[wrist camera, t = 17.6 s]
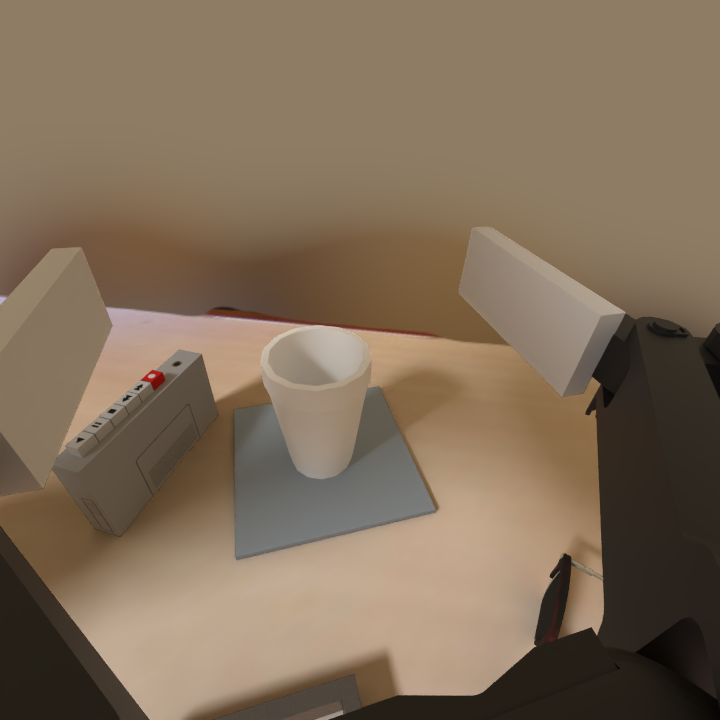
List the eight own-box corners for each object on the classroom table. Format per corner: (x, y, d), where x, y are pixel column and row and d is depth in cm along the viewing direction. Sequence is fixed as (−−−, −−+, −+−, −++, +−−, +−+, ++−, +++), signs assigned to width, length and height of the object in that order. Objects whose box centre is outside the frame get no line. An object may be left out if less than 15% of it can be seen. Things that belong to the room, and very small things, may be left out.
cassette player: (198, 410, 47) (176, 341, 41) (218, 415, 46) (199, 346, 40) (95, 529, 34) (42, 455, 28) (120, 537, 34) (72, 464, 28)
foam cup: (281, 423, 44) (267, 326, 37) (361, 419, 45) (365, 324, 37) (273, 496, 37) (253, 393, 29) (370, 490, 38) (376, 389, 30)
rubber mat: (236, 560, 32) (235, 556, 32) (234, 412, 46) (234, 409, 46) (435, 512, 36) (435, 509, 36) (378, 389, 50) (379, 386, 50)
